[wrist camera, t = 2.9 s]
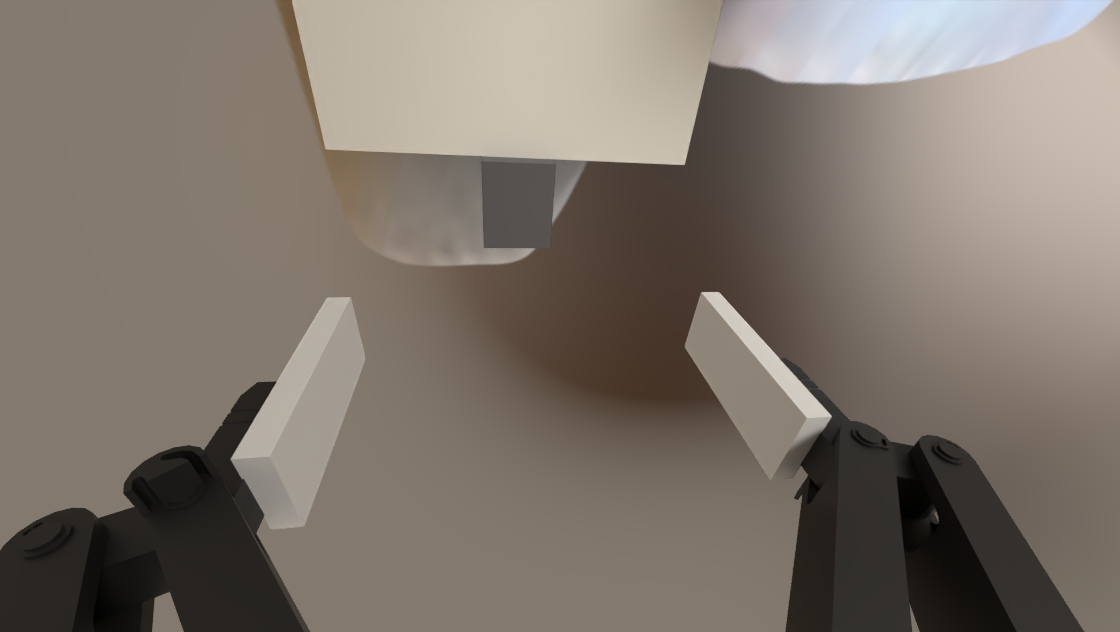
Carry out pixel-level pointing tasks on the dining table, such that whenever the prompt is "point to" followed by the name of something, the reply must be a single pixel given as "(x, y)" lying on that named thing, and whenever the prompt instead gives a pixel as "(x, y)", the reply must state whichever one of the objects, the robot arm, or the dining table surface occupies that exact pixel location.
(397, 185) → the dining table surface
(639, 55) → the lid
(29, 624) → the robot arm
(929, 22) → the dining table surface
